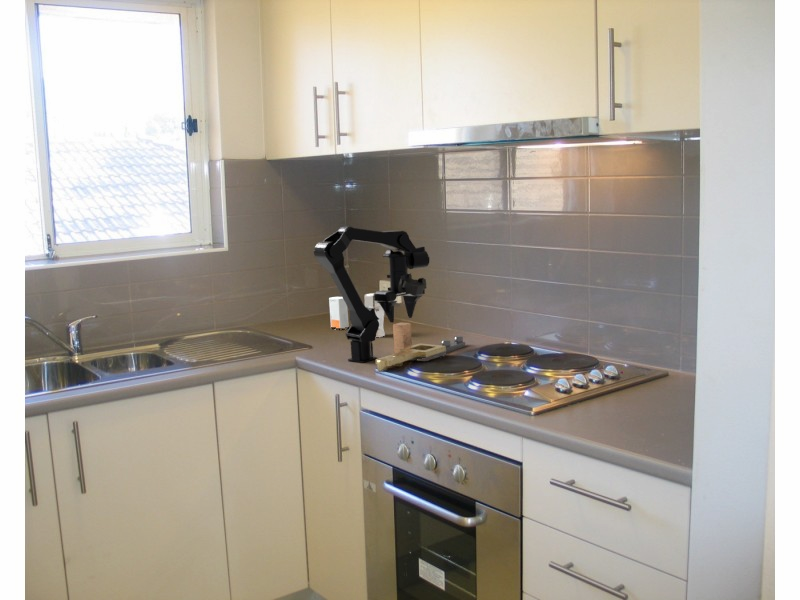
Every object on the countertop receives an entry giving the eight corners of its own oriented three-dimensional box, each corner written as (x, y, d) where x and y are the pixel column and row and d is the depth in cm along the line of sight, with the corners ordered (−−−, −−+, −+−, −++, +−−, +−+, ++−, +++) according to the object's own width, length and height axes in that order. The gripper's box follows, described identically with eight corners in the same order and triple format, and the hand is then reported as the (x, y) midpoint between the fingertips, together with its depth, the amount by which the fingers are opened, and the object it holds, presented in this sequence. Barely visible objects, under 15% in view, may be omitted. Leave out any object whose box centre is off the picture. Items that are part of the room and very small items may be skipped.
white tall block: (387, 334, 290) (384, 292, 288) (385, 337, 283) (382, 295, 281) (368, 334, 291) (365, 293, 289) (365, 338, 284) (362, 296, 282)
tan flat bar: (392, 373, 229) (392, 362, 229) (366, 369, 235) (365, 359, 235) (474, 346, 260) (473, 336, 260) (448, 343, 267) (448, 334, 266)
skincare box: (330, 329, 307) (328, 297, 306) (339, 327, 310) (337, 296, 308) (340, 330, 303) (338, 298, 301) (349, 328, 306) (347, 297, 304)
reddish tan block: (404, 353, 255) (402, 325, 254) (394, 352, 258) (392, 324, 256) (412, 351, 258) (410, 323, 257) (402, 350, 261) (400, 322, 259)
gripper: (399, 274, 242) (402, 326, 244) (437, 268, 256) (439, 317, 258) (371, 274, 249) (374, 324, 251) (409, 267, 263) (411, 315, 265)
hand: (401, 320), depth 256 cm, fingers open, 9 cm apart
